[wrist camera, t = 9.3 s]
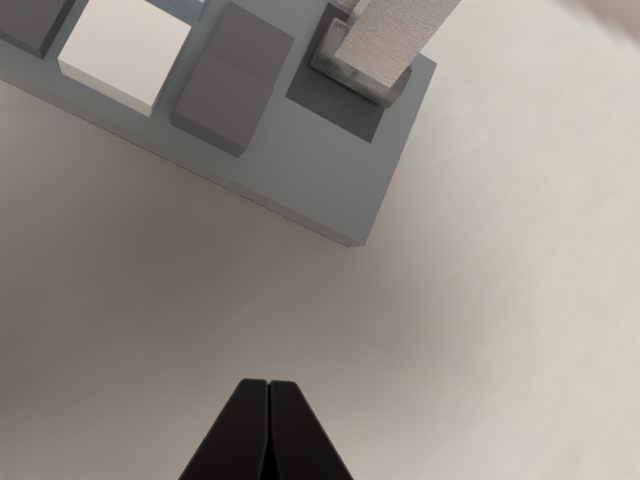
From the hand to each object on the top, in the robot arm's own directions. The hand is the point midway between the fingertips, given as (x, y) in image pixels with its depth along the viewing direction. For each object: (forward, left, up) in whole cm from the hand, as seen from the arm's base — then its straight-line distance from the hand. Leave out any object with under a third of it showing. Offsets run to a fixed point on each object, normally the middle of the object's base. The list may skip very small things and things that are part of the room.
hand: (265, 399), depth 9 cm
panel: (+9, -5, -10) cm, 14 cm away
